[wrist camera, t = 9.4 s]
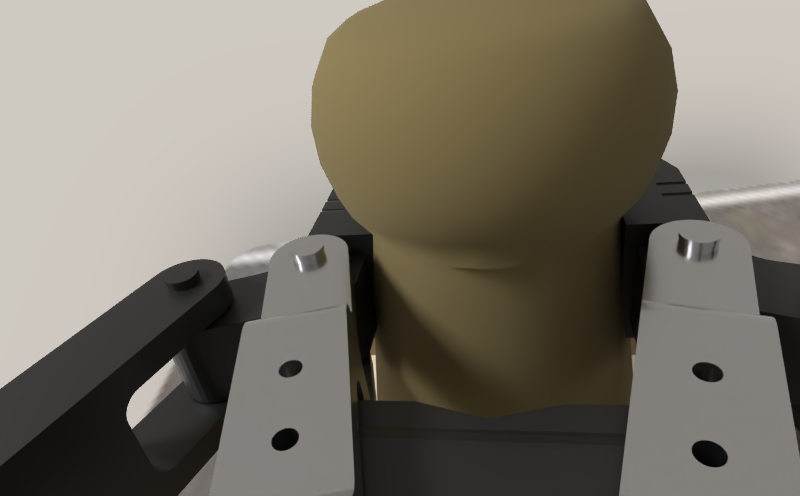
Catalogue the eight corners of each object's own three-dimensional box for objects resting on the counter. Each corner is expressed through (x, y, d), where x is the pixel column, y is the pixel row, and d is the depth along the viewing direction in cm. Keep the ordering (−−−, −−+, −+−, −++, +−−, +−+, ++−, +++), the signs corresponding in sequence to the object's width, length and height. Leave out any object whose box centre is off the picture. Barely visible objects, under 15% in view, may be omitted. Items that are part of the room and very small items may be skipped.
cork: (631, 681, 10) (754, 23, 4) (334, 566, 12) (151, 50, 7) (652, 419, 14) (725, -69, 9) (432, 373, 17) (374, -34, 11)
